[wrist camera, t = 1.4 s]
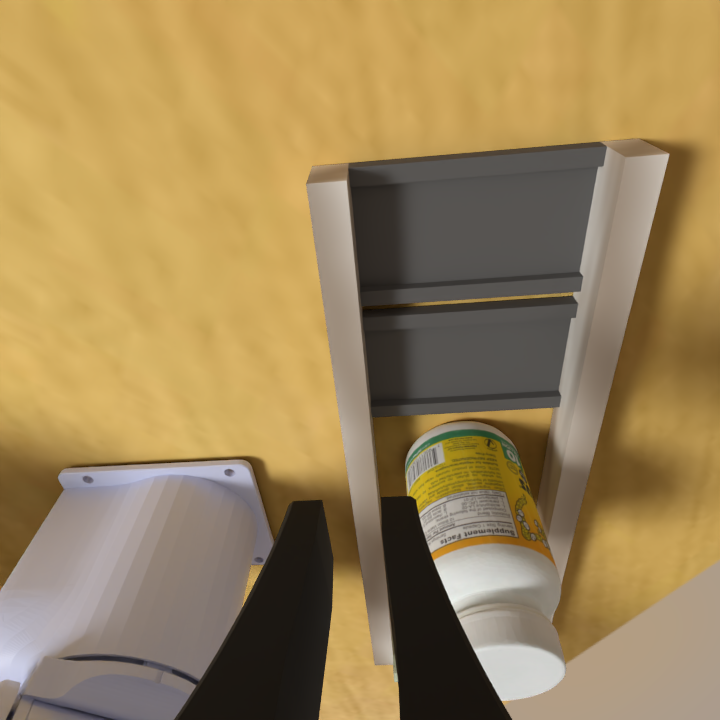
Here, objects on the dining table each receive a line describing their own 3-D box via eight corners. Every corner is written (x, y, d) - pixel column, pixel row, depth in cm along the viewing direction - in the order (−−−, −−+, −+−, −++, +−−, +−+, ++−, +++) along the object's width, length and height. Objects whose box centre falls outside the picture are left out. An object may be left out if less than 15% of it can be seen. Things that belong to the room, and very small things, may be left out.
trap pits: (371, 408, 23) (371, 417, 22) (348, 163, 17) (348, 168, 16) (555, 398, 22) (559, 407, 22) (599, 141, 16) (606, 146, 16)
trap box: (374, 633, 34) (375, 682, 31) (312, 166, 17) (302, 194, 14) (533, 628, 33) (546, 678, 31) (638, 138, 16) (687, 162, 14)
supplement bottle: (400, 421, 23) (416, 637, 15) (520, 411, 23) (601, 629, 15) (408, 499, 26) (425, 713, 18) (514, 492, 26) (578, 707, 18)
